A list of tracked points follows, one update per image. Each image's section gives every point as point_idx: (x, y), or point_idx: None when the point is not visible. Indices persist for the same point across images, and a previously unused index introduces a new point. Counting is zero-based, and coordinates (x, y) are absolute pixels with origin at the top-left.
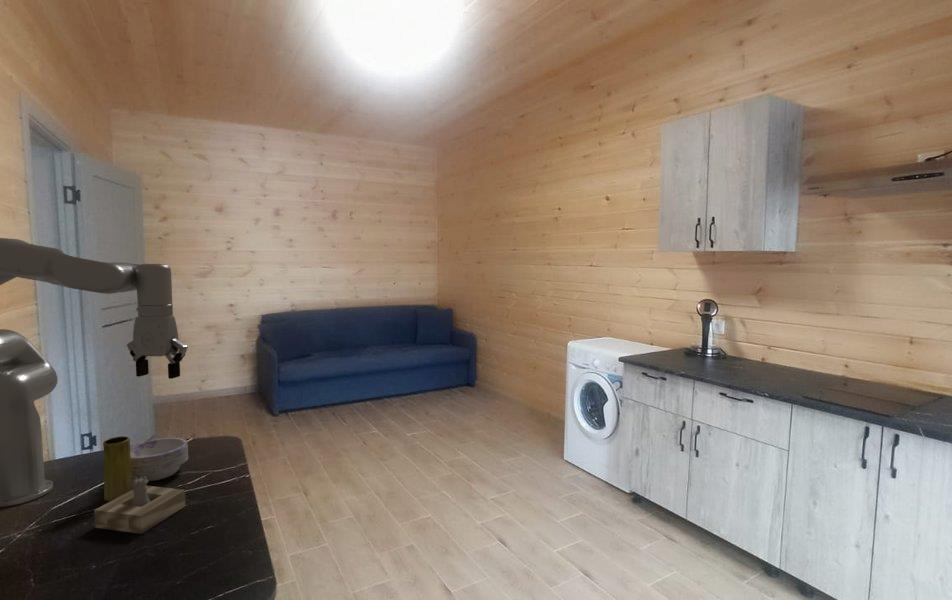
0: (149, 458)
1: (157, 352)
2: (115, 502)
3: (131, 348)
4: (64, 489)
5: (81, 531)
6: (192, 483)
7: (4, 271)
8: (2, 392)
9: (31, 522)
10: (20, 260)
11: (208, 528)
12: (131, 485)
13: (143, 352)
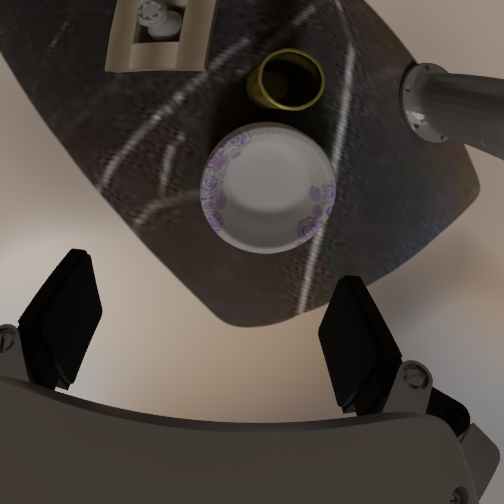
0: (237, 133)
1: (13, 427)
2: (201, 4)
3: (469, 446)
4: (386, 115)
5: None
6: (163, 147)
7: None
8: None
9: (344, 8)
10: None
11: (53, 39)
12: (248, 89)
13: (298, 467)
